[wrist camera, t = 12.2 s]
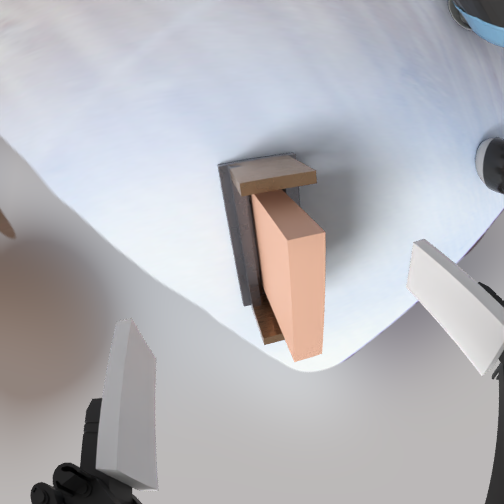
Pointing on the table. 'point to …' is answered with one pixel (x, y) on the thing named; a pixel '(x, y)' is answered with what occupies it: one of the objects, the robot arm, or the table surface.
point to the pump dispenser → (491, 163)
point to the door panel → (291, 269)
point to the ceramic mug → (458, 16)
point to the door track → (242, 226)
